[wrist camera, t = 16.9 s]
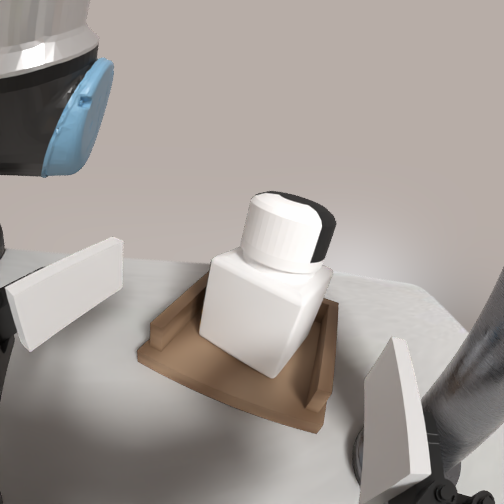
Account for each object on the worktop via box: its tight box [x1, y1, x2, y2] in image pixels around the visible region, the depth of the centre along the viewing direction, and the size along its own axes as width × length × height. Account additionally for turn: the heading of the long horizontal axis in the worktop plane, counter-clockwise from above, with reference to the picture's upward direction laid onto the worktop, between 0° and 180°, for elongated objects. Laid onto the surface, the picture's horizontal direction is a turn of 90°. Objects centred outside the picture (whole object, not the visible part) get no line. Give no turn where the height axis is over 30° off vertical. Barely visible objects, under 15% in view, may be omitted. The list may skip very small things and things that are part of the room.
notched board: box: [137, 271, 338, 434], centre depth 23 cm, size 14×14×4 cm
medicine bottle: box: [199, 191, 336, 378], centre depth 21 cm, size 7×7×12 cm
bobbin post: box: [353, 267, 504, 504], centre depth 10 cm, size 10×10×20 cm
